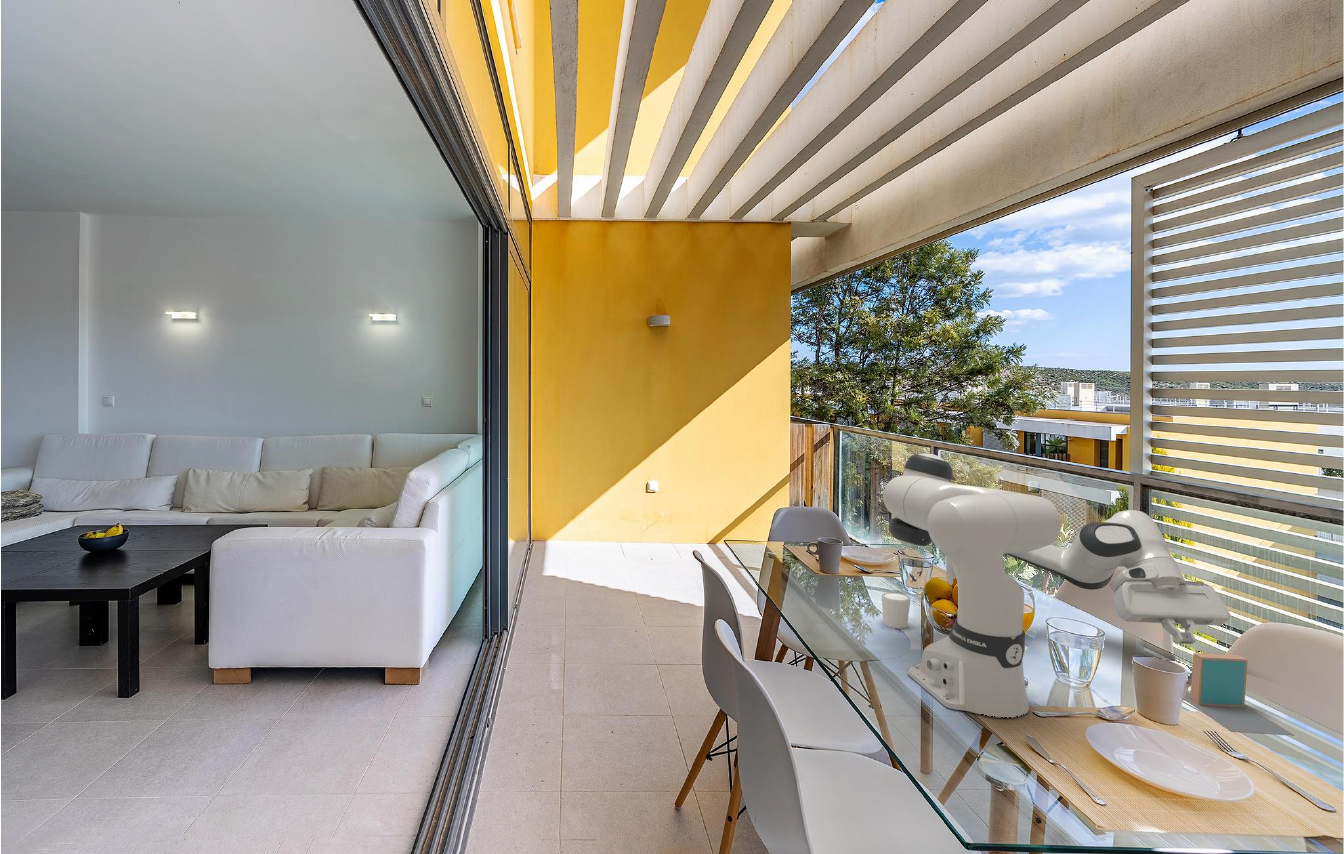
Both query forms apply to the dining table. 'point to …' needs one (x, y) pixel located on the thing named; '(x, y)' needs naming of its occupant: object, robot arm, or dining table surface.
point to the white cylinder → (895, 609)
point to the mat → (1240, 719)
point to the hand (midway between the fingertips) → (1186, 642)
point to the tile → (1218, 680)
